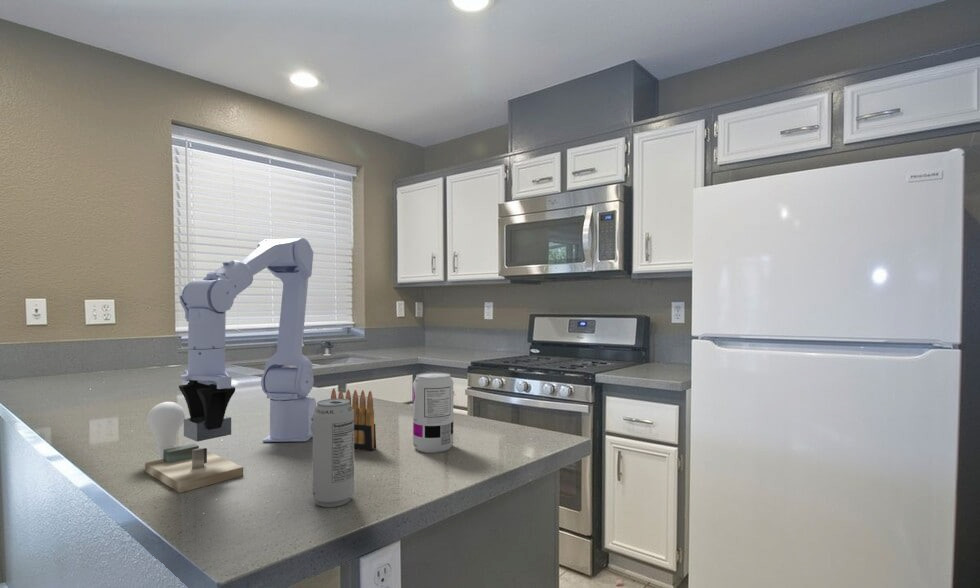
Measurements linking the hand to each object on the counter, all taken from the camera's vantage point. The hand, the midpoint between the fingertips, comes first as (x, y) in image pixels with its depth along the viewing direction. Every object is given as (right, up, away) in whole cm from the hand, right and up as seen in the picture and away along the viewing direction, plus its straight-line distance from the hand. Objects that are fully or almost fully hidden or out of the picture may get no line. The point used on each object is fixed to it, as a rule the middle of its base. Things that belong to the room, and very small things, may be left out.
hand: (206, 425), depth 89 cm
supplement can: (+38, -9, +16) cm, 42 cm away
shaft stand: (-3, -9, 0) cm, 9 cm away
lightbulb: (-12, -9, +8) cm, 17 cm away
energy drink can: (+26, -9, -12) cm, 30 cm away
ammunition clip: (+21, -9, +16) cm, 28 cm away
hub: (0, -2, 0) cm, 2 cm away
